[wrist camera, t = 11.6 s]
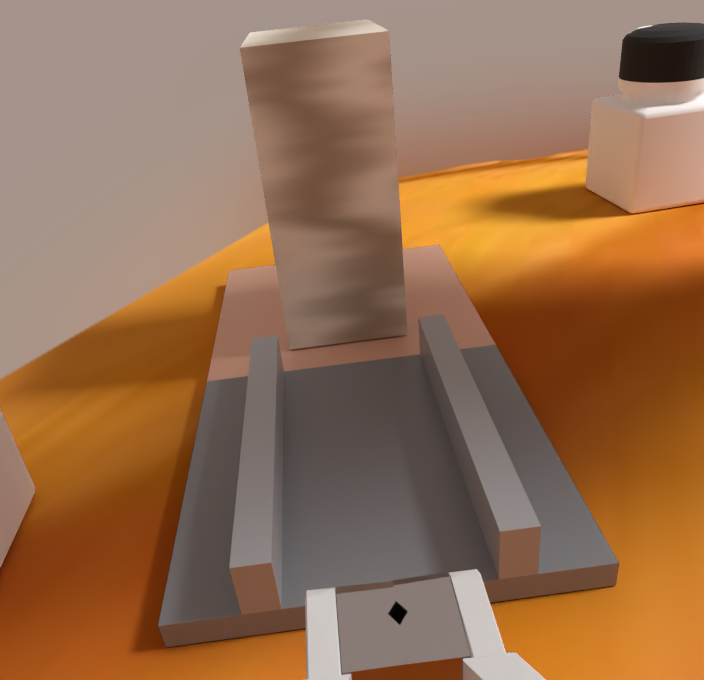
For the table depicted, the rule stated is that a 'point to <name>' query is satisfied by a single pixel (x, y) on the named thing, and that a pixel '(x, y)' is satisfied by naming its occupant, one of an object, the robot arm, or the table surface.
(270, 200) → the block
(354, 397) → the chute
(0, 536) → the milk carton
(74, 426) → the table surface
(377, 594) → the robot arm
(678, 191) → the medicine bottle
